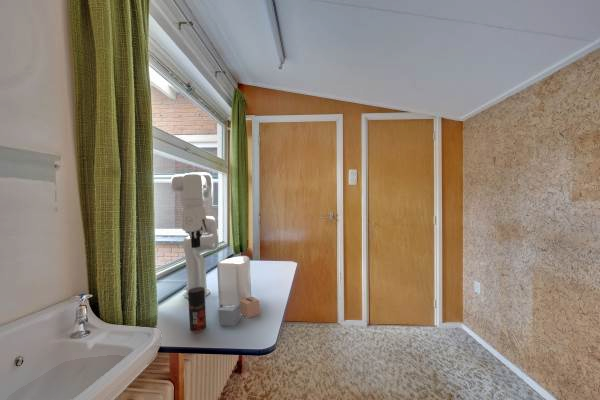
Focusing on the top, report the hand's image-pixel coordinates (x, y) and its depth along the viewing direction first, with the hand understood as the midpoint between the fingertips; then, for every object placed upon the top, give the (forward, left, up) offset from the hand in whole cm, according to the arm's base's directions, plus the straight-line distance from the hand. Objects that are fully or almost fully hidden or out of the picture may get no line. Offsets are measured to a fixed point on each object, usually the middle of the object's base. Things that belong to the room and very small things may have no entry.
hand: (196, 247), depth 111 cm
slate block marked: (+14, +3, -30) cm, 33 cm away
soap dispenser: (+5, +20, -30) cm, 37 cm away
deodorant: (+6, -6, -30) cm, 31 cm away
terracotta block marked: (+17, +12, -30) cm, 37 cm away
